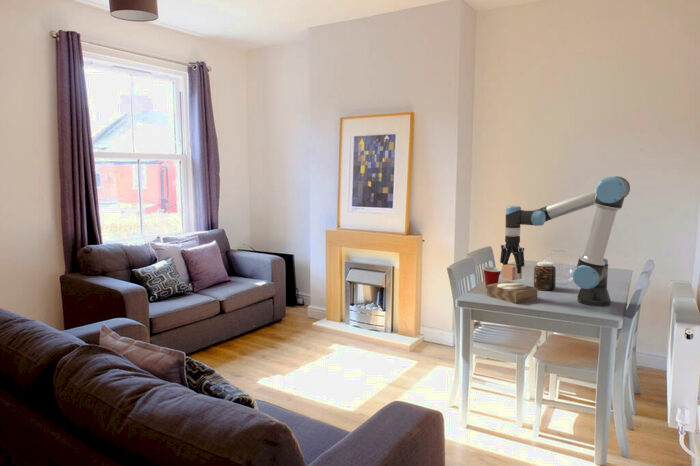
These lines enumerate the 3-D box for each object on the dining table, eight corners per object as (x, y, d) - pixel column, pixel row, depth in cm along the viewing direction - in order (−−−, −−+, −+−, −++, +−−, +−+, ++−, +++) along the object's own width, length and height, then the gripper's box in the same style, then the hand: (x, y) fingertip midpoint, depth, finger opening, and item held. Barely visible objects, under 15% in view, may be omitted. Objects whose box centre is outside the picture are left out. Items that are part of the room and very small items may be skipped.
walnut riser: (537, 299, 258) (537, 287, 257) (515, 303, 250) (516, 291, 249) (507, 291, 275) (507, 280, 274) (487, 295, 267) (487, 284, 266)
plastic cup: (499, 291, 275) (499, 270, 274) (480, 289, 281) (480, 269, 279) (503, 287, 285) (503, 267, 283) (484, 285, 290) (484, 265, 289)
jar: (557, 291, 273) (558, 264, 271) (535, 290, 275) (535, 264, 274) (553, 286, 285) (553, 261, 283) (532, 285, 287) (532, 260, 285)
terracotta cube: (521, 278, 260) (521, 265, 259) (512, 280, 257) (512, 267, 256) (511, 276, 266) (511, 263, 265) (502, 277, 263) (502, 265, 262)
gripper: (533, 236, 252) (531, 280, 255) (503, 232, 269) (502, 273, 272) (522, 238, 248) (521, 282, 251) (493, 233, 265) (492, 275, 268)
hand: (511, 277), depth 261 cm, fingers closed on terracotta cube, 7 cm apart
